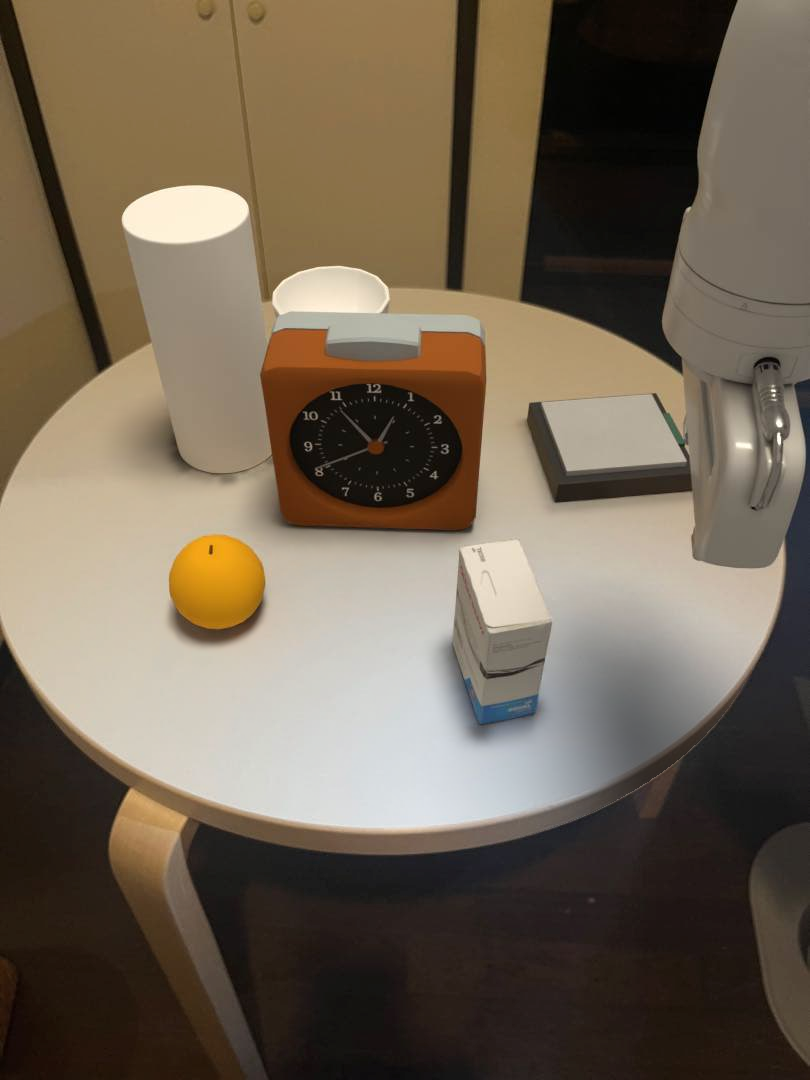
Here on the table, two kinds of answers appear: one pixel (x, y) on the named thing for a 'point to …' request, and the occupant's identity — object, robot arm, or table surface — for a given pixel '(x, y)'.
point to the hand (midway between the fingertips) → (700, 492)
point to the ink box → (500, 630)
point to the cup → (331, 292)
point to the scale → (609, 447)
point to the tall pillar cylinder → (204, 320)
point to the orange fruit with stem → (216, 581)
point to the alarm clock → (376, 418)
